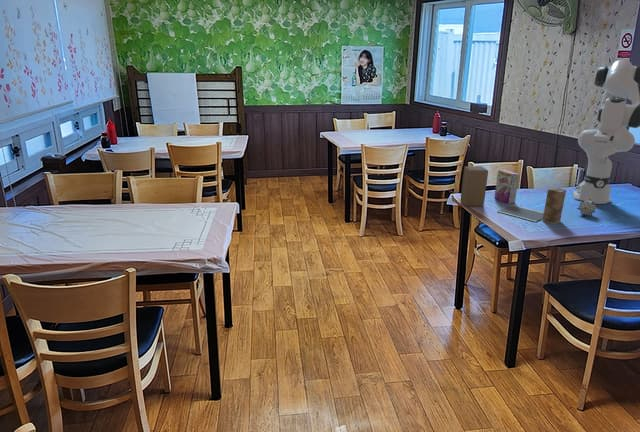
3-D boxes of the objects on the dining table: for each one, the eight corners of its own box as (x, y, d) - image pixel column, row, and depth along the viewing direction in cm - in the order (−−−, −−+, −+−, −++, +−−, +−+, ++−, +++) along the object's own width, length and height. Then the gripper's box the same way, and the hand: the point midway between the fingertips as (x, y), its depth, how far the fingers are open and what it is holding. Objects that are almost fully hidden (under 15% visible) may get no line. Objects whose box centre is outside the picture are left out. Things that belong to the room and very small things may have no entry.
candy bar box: (493, 198, 256) (497, 169, 251) (500, 197, 258) (504, 169, 252) (508, 204, 246) (512, 174, 241) (515, 203, 248) (519, 173, 243)
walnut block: (560, 221, 221) (566, 189, 216) (554, 224, 218) (561, 192, 212) (547, 218, 226) (553, 187, 220) (542, 220, 222) (548, 189, 217)
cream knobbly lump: (588, 222, 230) (602, 211, 222) (572, 216, 231) (585, 204, 222) (588, 210, 235) (602, 198, 227) (573, 203, 236) (586, 192, 228)
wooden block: (477, 201, 251) (482, 165, 244) (484, 206, 242) (489, 170, 235) (459, 201, 251) (463, 165, 244) (465, 206, 241) (470, 170, 235)
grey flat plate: (550, 215, 229) (550, 214, 229) (535, 222, 220) (535, 221, 219) (512, 205, 244) (512, 204, 243) (496, 212, 234) (497, 211, 234)
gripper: (608, 131, 210) (602, 161, 215) (592, 136, 198) (585, 167, 202) (624, 133, 206) (617, 163, 211) (608, 138, 193) (601, 170, 198)
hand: (601, 165), depth 206 cm, fingers closed
